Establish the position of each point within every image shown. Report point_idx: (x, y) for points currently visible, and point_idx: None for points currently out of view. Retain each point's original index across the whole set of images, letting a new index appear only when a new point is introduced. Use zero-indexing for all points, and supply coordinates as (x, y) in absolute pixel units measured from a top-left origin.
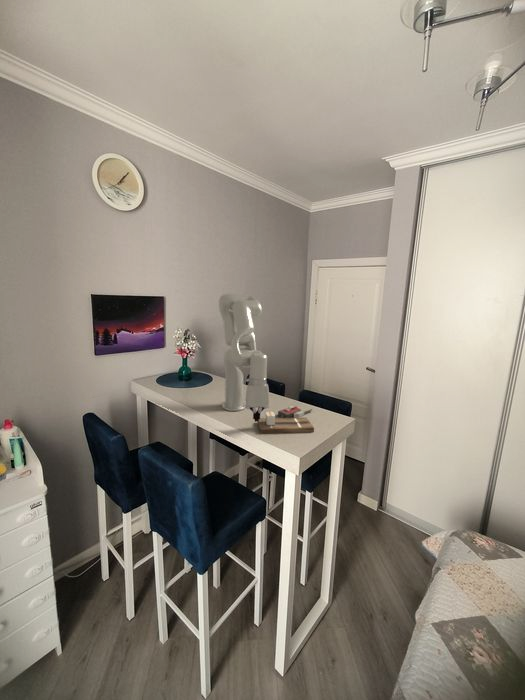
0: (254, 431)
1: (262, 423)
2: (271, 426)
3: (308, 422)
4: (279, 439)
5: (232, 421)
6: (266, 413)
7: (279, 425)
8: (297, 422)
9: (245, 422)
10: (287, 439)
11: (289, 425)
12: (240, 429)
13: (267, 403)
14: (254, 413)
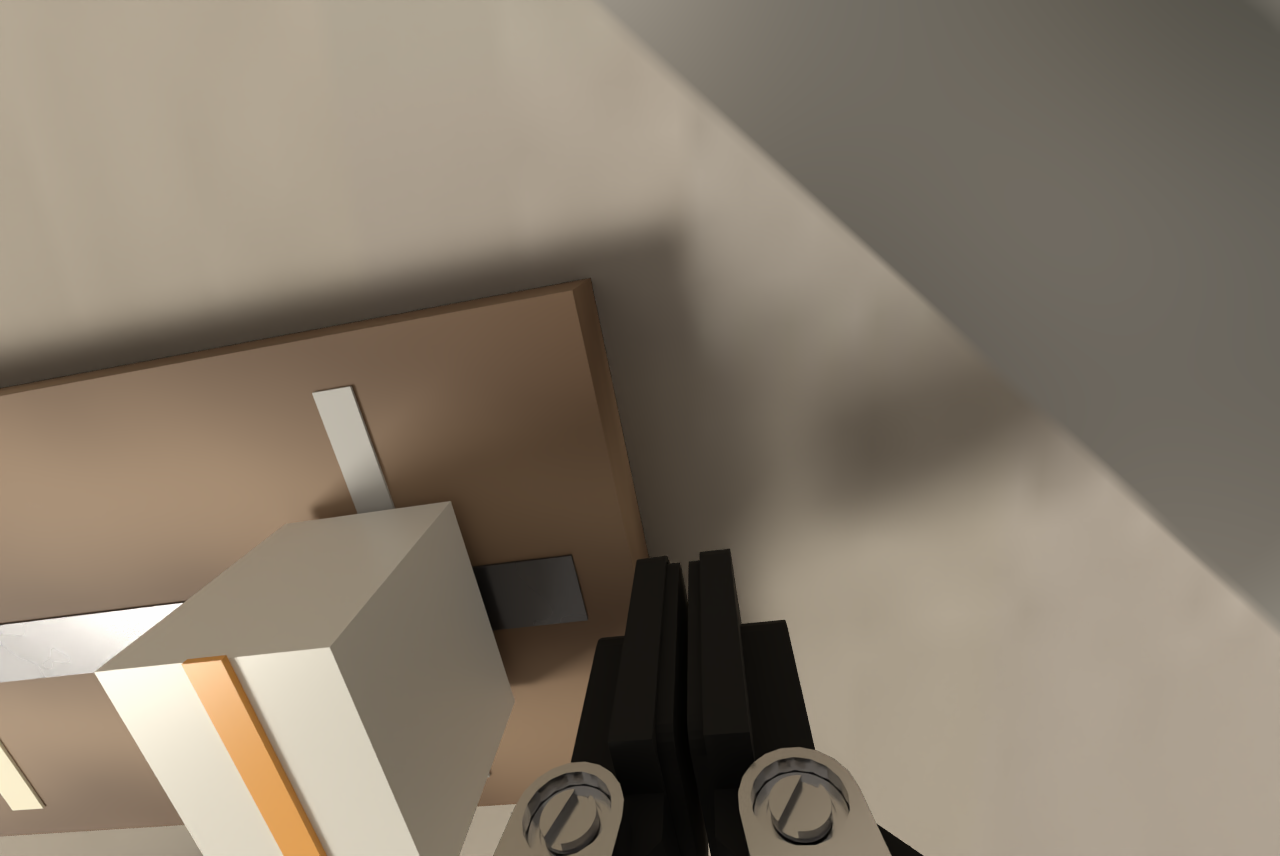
0: (726, 372)
1: (563, 591)
2: (352, 461)
3: None
4: (164, 31)
5: (1148, 750)
6: (398, 824)
7: (206, 529)
8: None
9: (898, 722)
10: (10, 58)
11: (22, 543)
12: (1024, 437)
13: None
14: (785, 760)
